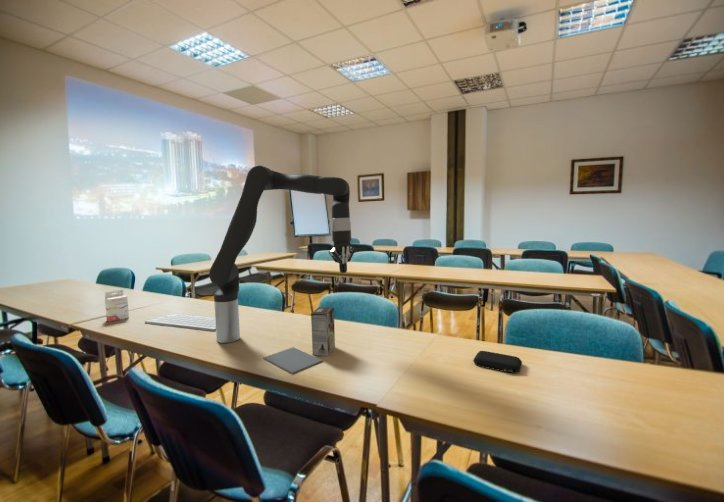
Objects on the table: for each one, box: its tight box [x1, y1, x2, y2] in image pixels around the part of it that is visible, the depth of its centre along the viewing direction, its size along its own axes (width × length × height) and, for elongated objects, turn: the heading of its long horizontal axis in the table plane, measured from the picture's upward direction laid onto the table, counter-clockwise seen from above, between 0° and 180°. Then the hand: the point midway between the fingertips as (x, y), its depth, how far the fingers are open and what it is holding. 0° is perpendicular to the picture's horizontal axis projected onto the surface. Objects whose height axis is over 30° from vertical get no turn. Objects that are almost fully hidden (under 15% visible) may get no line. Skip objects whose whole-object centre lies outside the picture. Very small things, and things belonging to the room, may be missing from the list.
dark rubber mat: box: [262, 346, 323, 375], centre depth 122 cm, size 18×13×1 cm
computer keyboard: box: [144, 313, 216, 332], centre depth 169 cm, size 43×19×2 cm, turn 70°
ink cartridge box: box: [104, 289, 130, 323], centre depth 174 cm, size 9×5×15 cm, turn 144°
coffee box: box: [310, 306, 336, 357], centre depth 129 cm, size 9×6×16 cm
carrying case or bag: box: [473, 350, 523, 373], centre depth 115 cm, size 11×3×15 cm
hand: (343, 272), depth 136 cm, fingers closed
